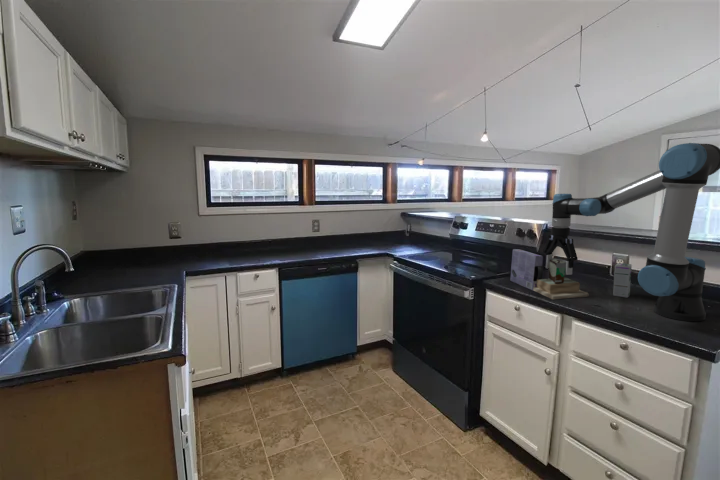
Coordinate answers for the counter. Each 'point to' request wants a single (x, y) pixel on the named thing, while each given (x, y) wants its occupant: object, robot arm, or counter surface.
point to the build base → (562, 295)
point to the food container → (557, 270)
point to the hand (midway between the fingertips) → (558, 271)
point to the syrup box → (622, 280)
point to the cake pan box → (526, 268)
